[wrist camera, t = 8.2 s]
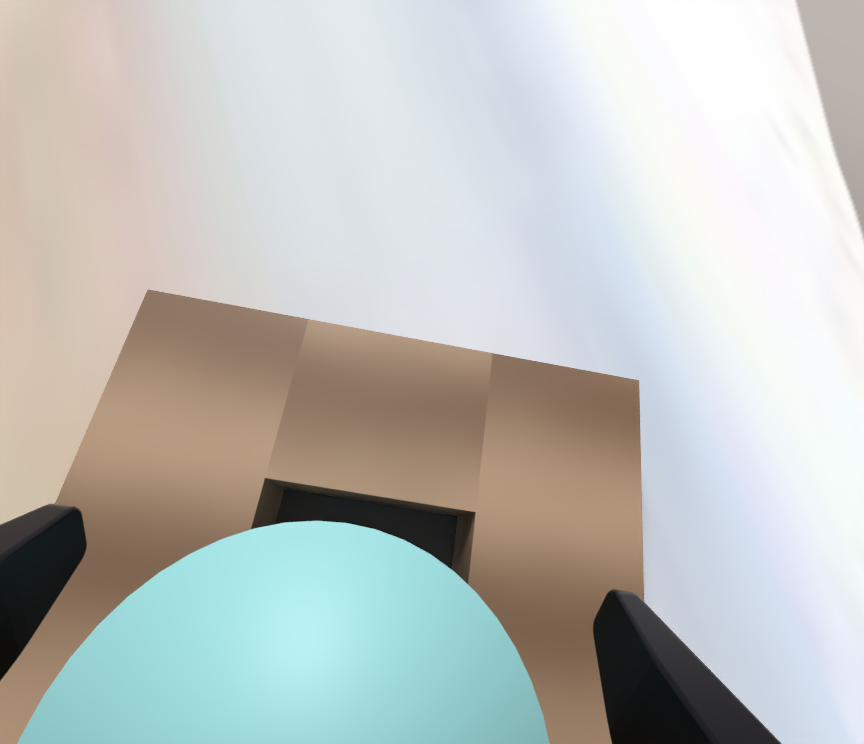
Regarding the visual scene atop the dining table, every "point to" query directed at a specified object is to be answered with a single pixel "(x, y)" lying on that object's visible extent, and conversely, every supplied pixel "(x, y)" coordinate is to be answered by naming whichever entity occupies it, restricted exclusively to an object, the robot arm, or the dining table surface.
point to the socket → (356, 476)
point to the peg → (296, 652)
